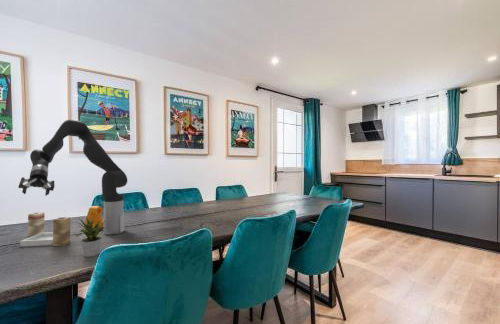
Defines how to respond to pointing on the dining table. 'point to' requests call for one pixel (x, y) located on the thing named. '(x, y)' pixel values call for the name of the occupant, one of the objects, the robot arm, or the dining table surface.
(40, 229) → the maple post
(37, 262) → the dining table surface
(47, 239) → the tray
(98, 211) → the bracket
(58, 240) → the oak post
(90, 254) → the house plant
